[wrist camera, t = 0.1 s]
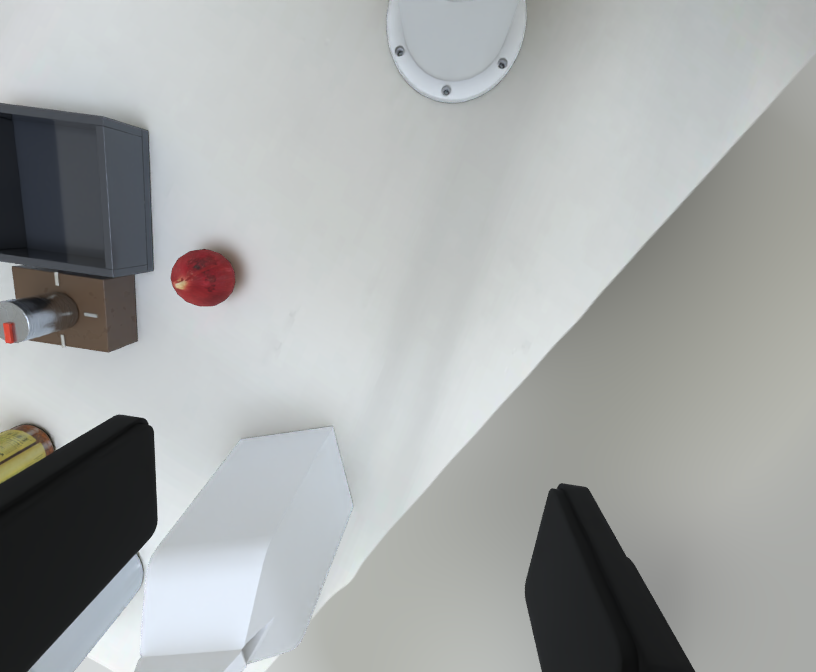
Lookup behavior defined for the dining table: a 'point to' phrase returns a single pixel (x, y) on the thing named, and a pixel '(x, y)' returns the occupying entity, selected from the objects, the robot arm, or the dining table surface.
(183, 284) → the red round fruit
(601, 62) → the dining table surface
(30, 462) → the sauce bottle
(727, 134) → the dining table surface
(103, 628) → the utensil holder
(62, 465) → the robot arm
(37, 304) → the metal rotary knob
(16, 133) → the dark grey open box
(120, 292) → the block
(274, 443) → the milk
